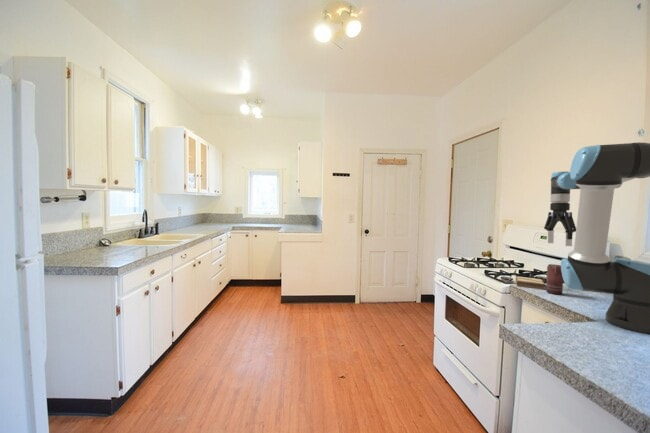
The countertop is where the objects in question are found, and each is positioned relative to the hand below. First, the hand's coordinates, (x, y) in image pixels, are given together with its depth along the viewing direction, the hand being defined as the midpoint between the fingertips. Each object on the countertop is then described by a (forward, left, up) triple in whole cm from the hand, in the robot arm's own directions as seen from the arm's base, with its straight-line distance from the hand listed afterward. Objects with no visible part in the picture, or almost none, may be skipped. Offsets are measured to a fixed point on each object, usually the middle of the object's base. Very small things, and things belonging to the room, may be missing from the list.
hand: (558, 244), depth 140 cm
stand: (+5, +11, -24) cm, 27 cm away
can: (-6, +2, -24) cm, 25 cm away
